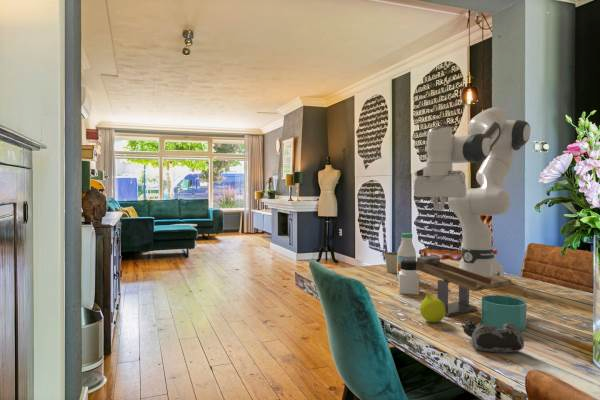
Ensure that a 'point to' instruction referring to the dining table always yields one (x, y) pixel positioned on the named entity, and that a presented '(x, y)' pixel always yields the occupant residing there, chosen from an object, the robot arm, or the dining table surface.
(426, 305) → the ornament
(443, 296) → the lever stand
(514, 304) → the cup
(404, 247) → the milk bottle
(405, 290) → the medicine bottle
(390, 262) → the flower pot
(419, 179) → the robot arm
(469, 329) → the bison figurine
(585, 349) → the dining table surface
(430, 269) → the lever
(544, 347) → the dining table surface
